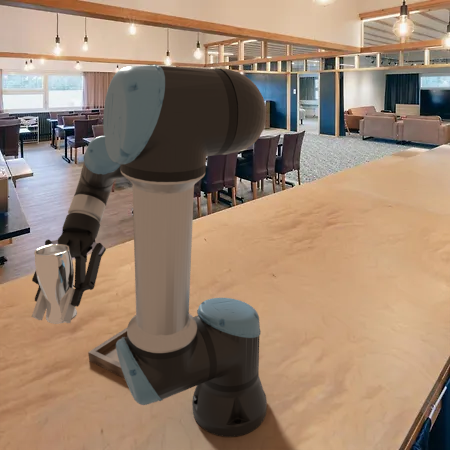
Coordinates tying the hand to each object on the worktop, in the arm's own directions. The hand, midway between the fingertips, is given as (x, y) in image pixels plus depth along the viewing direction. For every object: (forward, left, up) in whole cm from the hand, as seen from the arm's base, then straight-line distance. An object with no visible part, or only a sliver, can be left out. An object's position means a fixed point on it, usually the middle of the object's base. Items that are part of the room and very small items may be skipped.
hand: (51, 319), depth 79 cm
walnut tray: (-5, -21, -18) cm, 28 cm away
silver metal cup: (+1, -3, -1) cm, 4 cm away
